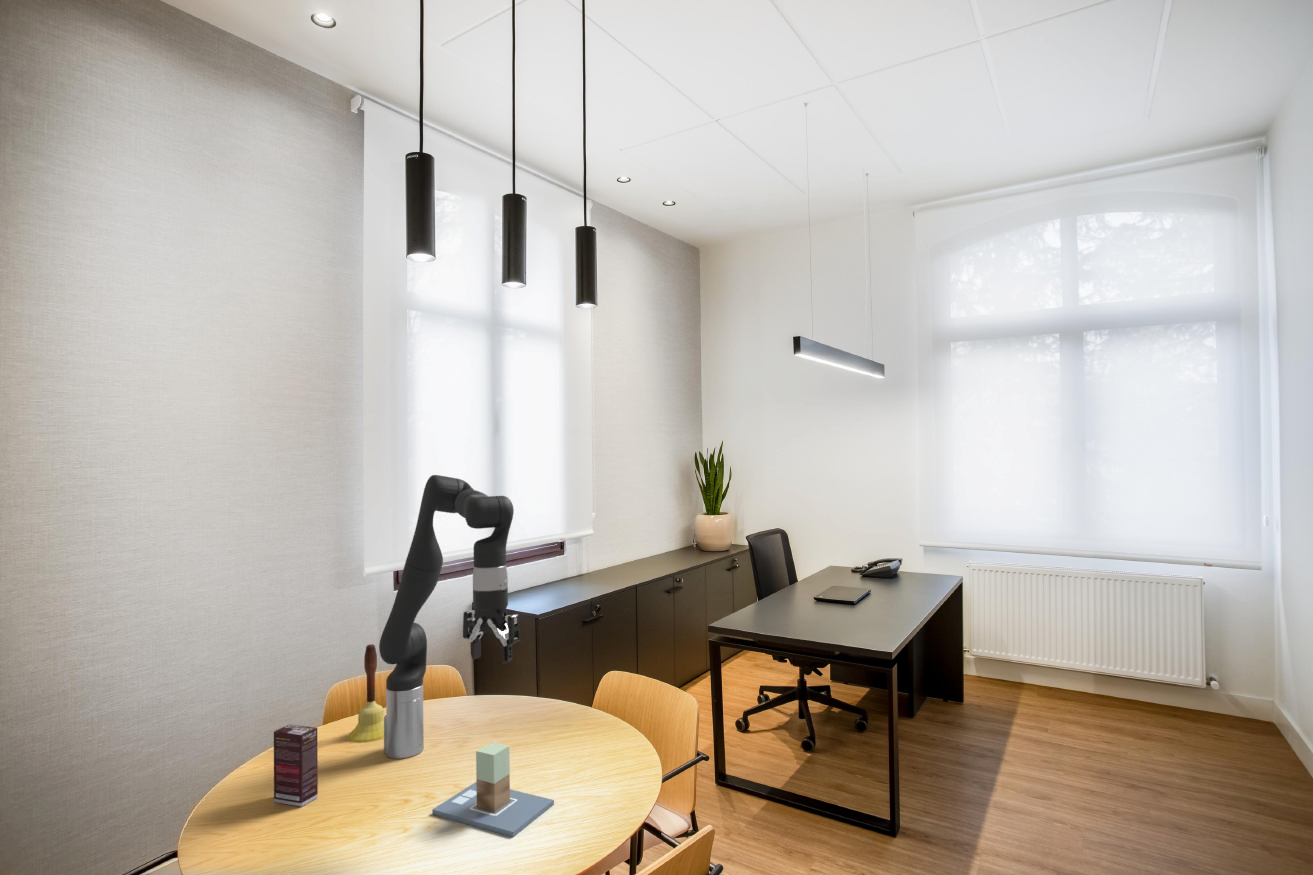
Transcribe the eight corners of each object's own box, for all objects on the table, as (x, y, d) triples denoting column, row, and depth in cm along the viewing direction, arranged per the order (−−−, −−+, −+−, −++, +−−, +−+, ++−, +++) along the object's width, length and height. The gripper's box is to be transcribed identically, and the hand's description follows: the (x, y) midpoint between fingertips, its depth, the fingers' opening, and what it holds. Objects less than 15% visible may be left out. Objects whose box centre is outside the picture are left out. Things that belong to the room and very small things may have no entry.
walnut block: (476, 807, 143) (476, 779, 143) (492, 796, 147) (491, 769, 147) (494, 812, 140) (494, 783, 141) (509, 801, 145) (509, 773, 145)
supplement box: (319, 797, 151) (318, 726, 152) (301, 807, 147) (301, 735, 147) (290, 792, 154) (290, 723, 155) (272, 802, 150) (272, 731, 150)
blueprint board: (432, 813, 142) (432, 808, 142) (477, 785, 155) (477, 780, 155) (513, 836, 133) (513, 831, 133) (554, 804, 145) (553, 799, 145)
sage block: (476, 779, 143) (476, 750, 143) (492, 769, 147) (491, 742, 148) (494, 783, 141) (493, 754, 141) (509, 773, 145) (509, 745, 145)
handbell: (337, 739, 185) (337, 648, 186) (371, 722, 196) (371, 638, 197) (370, 745, 180) (369, 652, 181) (403, 728, 191) (403, 641, 193)
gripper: (453, 587, 146) (454, 661, 145) (504, 591, 140) (505, 668, 139) (477, 581, 153) (478, 652, 152) (526, 585, 146) (528, 659, 145)
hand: (491, 660), depth 145 cm, fingers open, 8 cm apart
